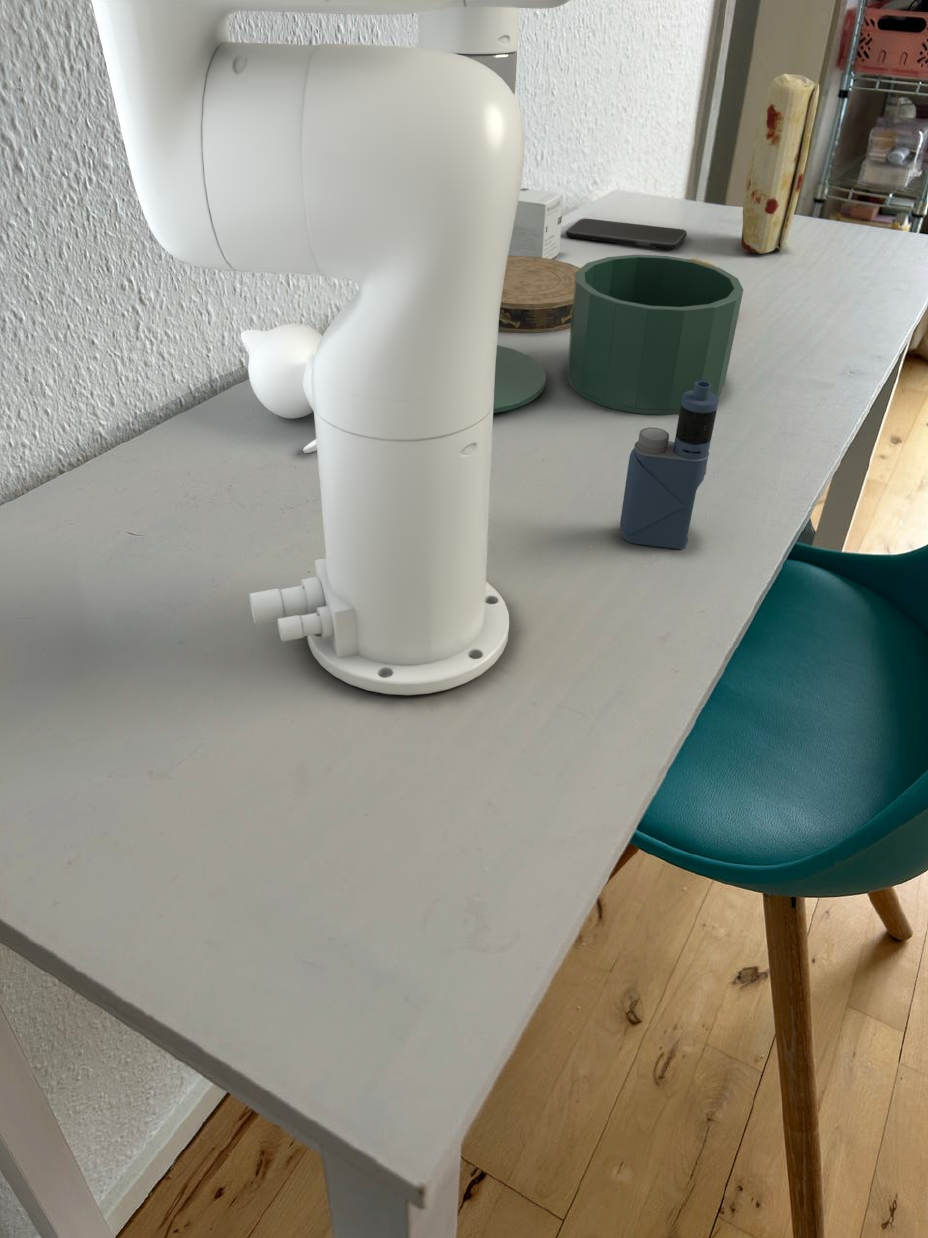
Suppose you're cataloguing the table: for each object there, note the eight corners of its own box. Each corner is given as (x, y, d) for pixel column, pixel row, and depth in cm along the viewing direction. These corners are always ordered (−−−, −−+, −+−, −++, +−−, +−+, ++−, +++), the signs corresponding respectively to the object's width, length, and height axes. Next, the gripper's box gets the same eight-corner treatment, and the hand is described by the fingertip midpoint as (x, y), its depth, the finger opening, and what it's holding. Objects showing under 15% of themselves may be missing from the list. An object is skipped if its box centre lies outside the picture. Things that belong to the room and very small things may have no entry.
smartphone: (580, 216, 131) (688, 229, 127) (580, 224, 132) (687, 236, 127) (564, 231, 126) (676, 244, 121) (563, 238, 126) (675, 251, 122)
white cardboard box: (541, 267, 116) (546, 204, 112) (496, 260, 118) (499, 197, 114) (559, 254, 121) (564, 192, 116) (515, 247, 123) (519, 186, 118)
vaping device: (691, 552, 68) (723, 394, 60) (617, 543, 68) (639, 385, 61) (692, 533, 70) (722, 377, 62) (619, 524, 70) (641, 369, 63)
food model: (739, 235, 129) (772, 66, 117) (790, 242, 127) (828, 70, 115) (728, 256, 122) (761, 78, 109) (782, 263, 120) (822, 82, 107)
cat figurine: (379, 323, 75) (259, 290, 80) (316, 432, 73) (194, 392, 77) (409, 388, 83) (298, 355, 87) (353, 489, 81) (241, 450, 85)
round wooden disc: (555, 343, 97) (557, 314, 96) (422, 313, 103) (421, 285, 102) (613, 297, 109) (617, 271, 107) (490, 273, 114) (491, 247, 113)
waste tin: (607, 423, 83) (620, 316, 77) (543, 359, 94) (550, 261, 88) (752, 403, 87) (775, 300, 81) (674, 344, 98) (689, 249, 92)
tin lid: (404, 431, 81) (403, 356, 77) (360, 361, 93) (357, 292, 89) (572, 408, 86) (579, 336, 81) (509, 344, 97) (513, 278, 93)
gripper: (390, 64, 79) (394, 275, 89) (456, 94, 66) (452, 337, 76) (475, 63, 81) (470, 269, 91) (556, 92, 68) (539, 329, 78)
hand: (462, 300), depth 84 cm, fingers open, 9 cm apart
